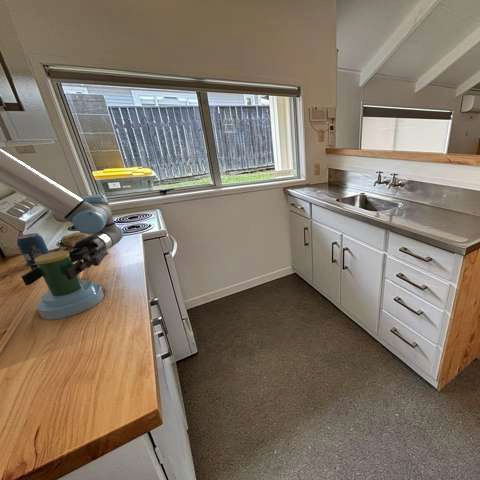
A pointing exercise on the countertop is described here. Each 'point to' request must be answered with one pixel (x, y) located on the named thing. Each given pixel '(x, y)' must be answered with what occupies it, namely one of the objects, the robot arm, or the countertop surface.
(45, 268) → the tea tin
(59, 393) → the countertop surface
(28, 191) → the robot arm
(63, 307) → the upturned bowl
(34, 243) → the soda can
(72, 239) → the sponge
